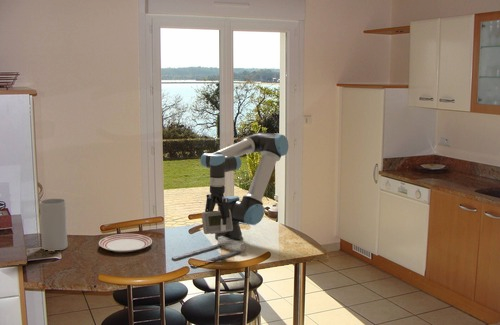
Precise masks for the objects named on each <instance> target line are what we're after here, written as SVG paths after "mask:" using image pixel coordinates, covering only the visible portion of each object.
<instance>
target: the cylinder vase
mask: <svg viewBox="0 0 500 325" xmlns="http://www.w3.org/2000/svg"><path fill="white" fill-rule="evenodd" d="M66 202H67V201H66V199H64V198H46V199H42V200H40V201H39V209H40V210H39V215H40V216H39V217H40V235H41V237H40V238H41V249H42V250H43V249H45V250H53V249H59V250H60V251H62V250H65V249H66V248H68V229H67V227H68V226H67V224H68V223H67V207H66V205H67V204H66ZM45 250H44V251H45Z"/></svg>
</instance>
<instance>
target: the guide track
mask: <svg viewBox="0 0 500 325" xmlns="http://www.w3.org/2000/svg"><path fill="white" fill-rule="evenodd" d="M245 245H246V243H245V242H243V241H240V240H234V239H230V238H227V237H224V236H220V237H218V239H217V244H214V245H211V246H210V245H209V246H206V247H204V248H200V249H196V250H193V251H190V252H187V253H182V254H180V255H179V254H178V255H176V256H172V257H171V260H172V261H173V262H175V261H178V260H182V259H185V258H189V257H192V256H196V255H198V254H202V253H206V252H209V251H212V250H216V249H219V248H223V249H226V250H229V251H230V252H229V253H228V252H227V253H224V254H222V255H218V256H215V257H212V258H209V259H205V260H204V261H215V262H218V261H221V260H224V259H228V258H230V257H233V256H236V255H237V256H238V255H240V254H241V255H242V254H243V253H245V251H246V250H245V248H246V246H245ZM190 267H191V268H193V269H197V267H195V266H193V265H192V264H190Z"/></svg>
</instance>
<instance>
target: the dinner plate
mask: <svg viewBox="0 0 500 325" xmlns="http://www.w3.org/2000/svg"><path fill="white" fill-rule="evenodd" d="M152 244H153V240H152V238H151V237H149V236H147V235H143V234H137V233H119V234H118V233H117V234H112V235H110V236H106V237H104V238H101V239H100V240H99V241H98V245H99V247H101V248H103V249H105V250H107V251H112V252H114V253H131V252H136V251H139V250H143V249H145V248H147V247H149V246H151V245H152Z"/></svg>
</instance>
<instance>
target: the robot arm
mask: <svg viewBox="0 0 500 325" xmlns="http://www.w3.org/2000/svg"><path fill="white" fill-rule="evenodd" d="M288 152H289V141H288V138H287V137H286V136H285V135H283V134H280V133H270V132H268V133H267V132H257V133H254V134H251V135H247V136H246V137H244V138H242V140H240V141H239V142H236V143H233V144H231V145H228V146H227V147H224V148H222V149H220V150H217V151H215V152H211V153H207V152H204V153H202V155H201V157H200V159H199V160H200V165H201V166H202V167H203V168H207V169H209V184H210V186H209V193H207V194H206V202H205V209H204V212H209V211H215V207H216V205H217V207H218V208H217V211H218V210H220V213H221V216H222V218H221V231H226V219H227V218H229V217H230V215H229V210H230V211H231V216H232V224H233V230H232V231H227V232H224V233H216V234H214V239H216V240H218V237H220V236H224V237H227V238H230V239H234V240H237V241H240V240H241V239H242V238H243V233H242V230H241V226H240V223H242V224H246V225H252V226H255V225H258V224H259V223H260V222H261V221H262V219H263V217H264V215H265V208H264V206H263V204H264V202H263V197H264V195H265V192H266V189H267V187H268V184H269V182H270V179H271V177H272V174H273V171H274V168H275V165H276V163H277V162H279V161H280V160H281V157H282V156H283V157H284V156H286V155H287V154H288ZM253 153H260V155H261V157H260V160H259V163H258V165H257V167H256V170H255V173H254V175H253V178H252V180H251V183H250V185H249V188H248V191H247V194H245V195H243V196H242V199H241V200H240V197H239V196H238V195H230V196H225V195H224V194H225V190H226V187H225V185H226V175H225V174H226V173H228V172H229V173H230V172H233V171H234V172H236V171H238V170H239V169H241V167H242V160H241V158H240V157H242V156H244V155H246V154H249V155H250V154H253Z"/></svg>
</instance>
